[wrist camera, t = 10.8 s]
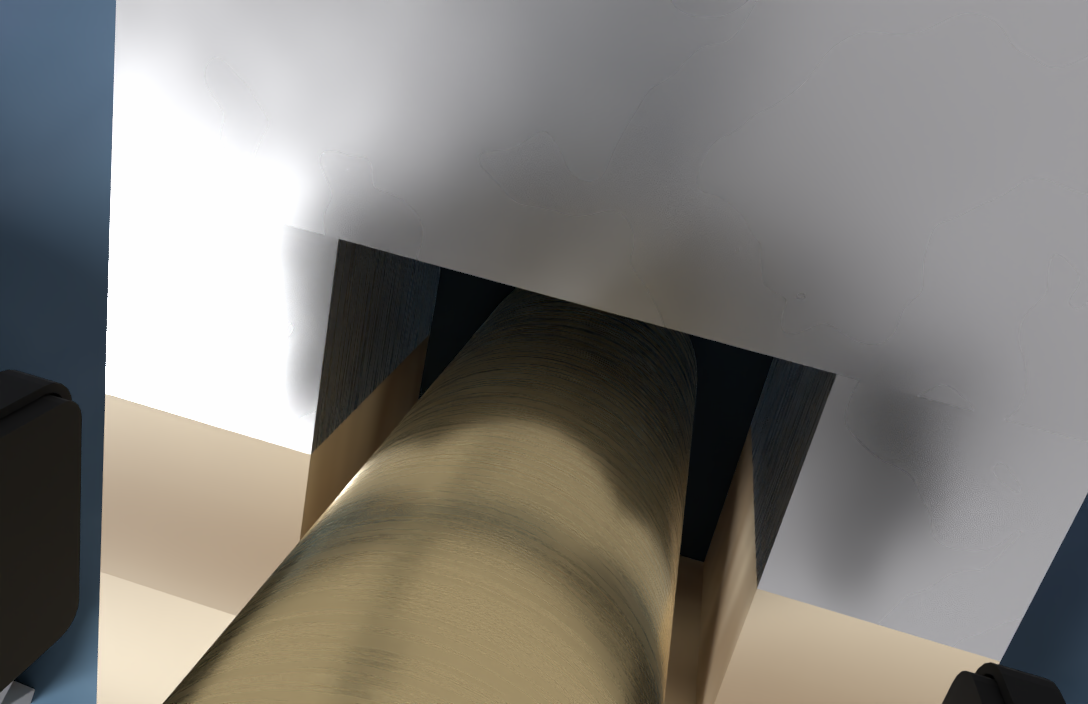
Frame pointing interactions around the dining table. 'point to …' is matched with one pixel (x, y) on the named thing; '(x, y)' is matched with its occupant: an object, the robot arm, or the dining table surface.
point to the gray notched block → (649, 242)
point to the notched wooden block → (317, 479)
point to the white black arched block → (16, 694)
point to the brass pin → (492, 534)
